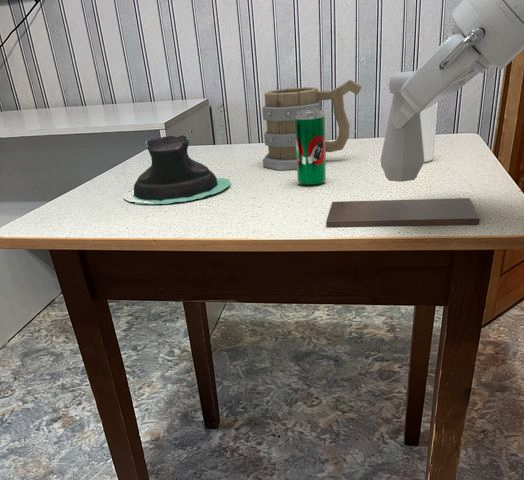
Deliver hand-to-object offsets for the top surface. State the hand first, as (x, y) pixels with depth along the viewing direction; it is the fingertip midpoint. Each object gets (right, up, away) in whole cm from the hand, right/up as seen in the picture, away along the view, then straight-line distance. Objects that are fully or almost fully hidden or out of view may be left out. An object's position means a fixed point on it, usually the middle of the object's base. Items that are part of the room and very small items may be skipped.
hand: (399, 122), depth 70 cm
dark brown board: (+2, -11, +6) cm, 12 cm away
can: (+13, +8, +36) cm, 39 cm away
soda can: (-9, 0, +26) cm, 28 cm away
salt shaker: (+1, -6, +3) cm, 7 cm away
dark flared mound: (-34, 0, +30) cm, 45 cm away
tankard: (-8, +9, +42) cm, 44 cm away
